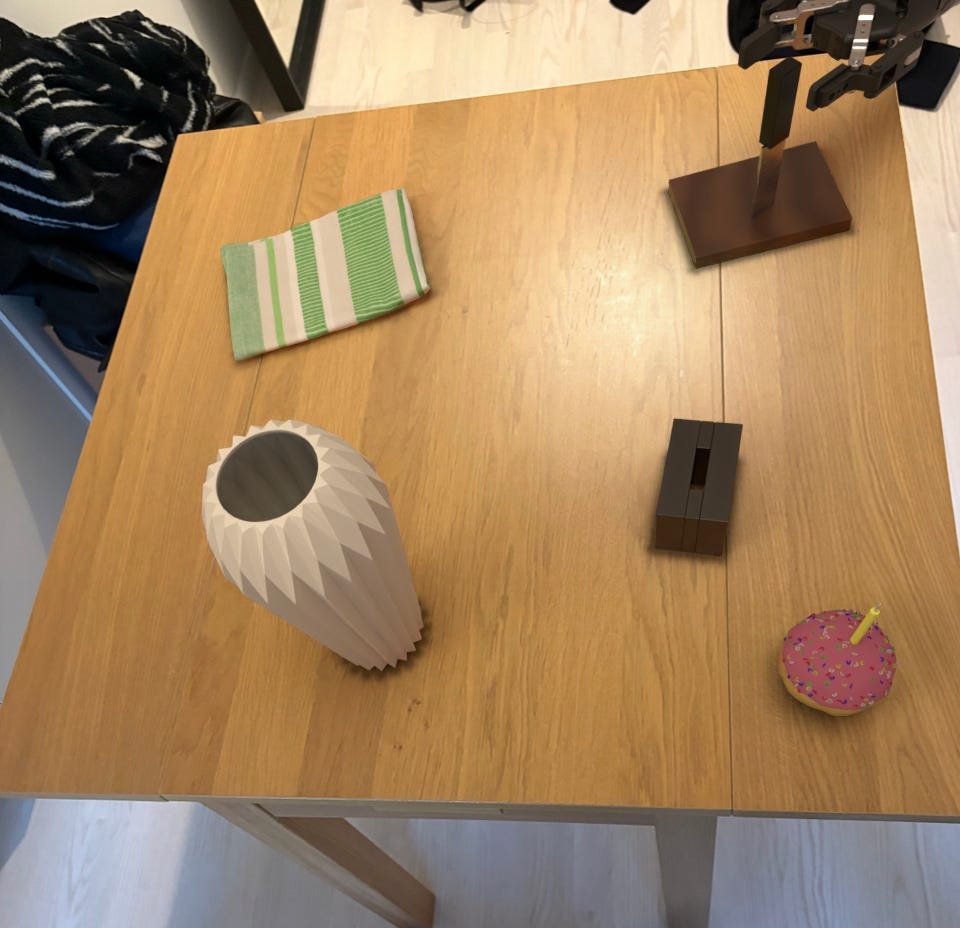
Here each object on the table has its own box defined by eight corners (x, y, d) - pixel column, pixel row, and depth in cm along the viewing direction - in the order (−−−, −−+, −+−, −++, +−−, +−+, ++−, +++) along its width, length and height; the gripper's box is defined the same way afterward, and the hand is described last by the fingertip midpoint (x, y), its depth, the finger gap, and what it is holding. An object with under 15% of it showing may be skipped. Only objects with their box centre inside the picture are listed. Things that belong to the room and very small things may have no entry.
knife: (778, 206, 86) (805, 61, 72) (756, 221, 86) (779, 79, 72) (767, 198, 87) (792, 53, 73) (746, 214, 86) (766, 71, 73)
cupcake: (815, 614, 70) (848, 547, 59) (903, 676, 67) (955, 618, 56) (750, 684, 69) (771, 629, 58) (836, 751, 66) (875, 706, 55)
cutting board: (813, 153, 90) (816, 140, 89) (849, 230, 85) (852, 218, 84) (668, 191, 92) (668, 179, 90) (695, 268, 87) (696, 257, 85)
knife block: (735, 462, 77) (743, 423, 72) (721, 556, 74) (728, 522, 68) (671, 456, 79) (673, 417, 73) (654, 548, 75) (656, 514, 70)
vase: (427, 712, 73) (324, 582, 49) (295, 682, 77) (139, 547, 53) (468, 580, 78) (391, 402, 54) (341, 557, 81) (216, 381, 57)
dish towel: (226, 256, 100) (216, 238, 98) (409, 199, 98) (403, 179, 96) (239, 366, 93) (228, 349, 91) (436, 306, 91) (431, 287, 89)
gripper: (862, -94, 74) (723, 1, 72) (993, -34, 68) (845, 70, 67) (843, -3, 81) (715, 85, 79) (961, 59, 75) (825, 155, 73)
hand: (775, 78), depth 73 cm, fingers open, 8 cm apart
